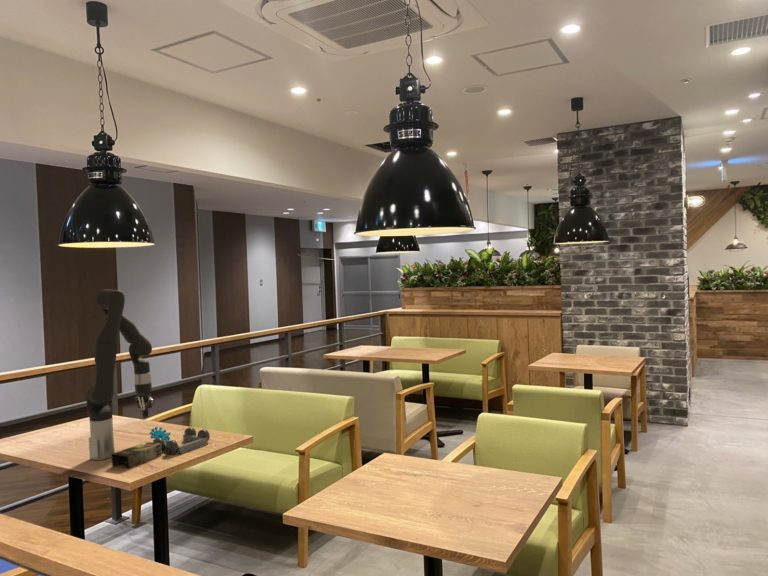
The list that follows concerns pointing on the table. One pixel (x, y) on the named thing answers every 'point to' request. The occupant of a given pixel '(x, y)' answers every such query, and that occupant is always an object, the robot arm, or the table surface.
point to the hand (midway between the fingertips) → (145, 417)
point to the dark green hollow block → (137, 454)
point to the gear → (160, 434)
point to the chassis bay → (189, 437)
